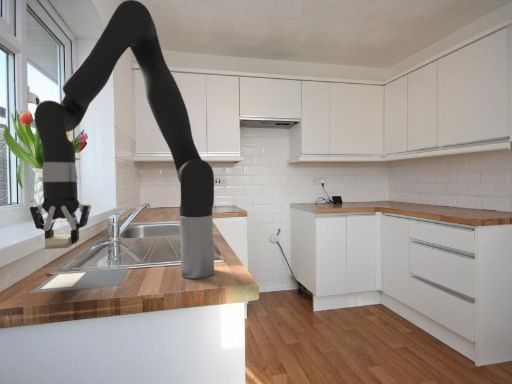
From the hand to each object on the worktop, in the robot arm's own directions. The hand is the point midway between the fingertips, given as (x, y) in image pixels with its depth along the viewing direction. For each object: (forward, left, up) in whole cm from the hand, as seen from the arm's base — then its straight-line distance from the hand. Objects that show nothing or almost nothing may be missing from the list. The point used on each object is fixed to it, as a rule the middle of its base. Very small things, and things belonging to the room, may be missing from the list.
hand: (62, 243), depth 78 cm
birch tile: (0, 0, 0) cm, 0 cm away
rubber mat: (-5, 0, -11) cm, 12 cm away
